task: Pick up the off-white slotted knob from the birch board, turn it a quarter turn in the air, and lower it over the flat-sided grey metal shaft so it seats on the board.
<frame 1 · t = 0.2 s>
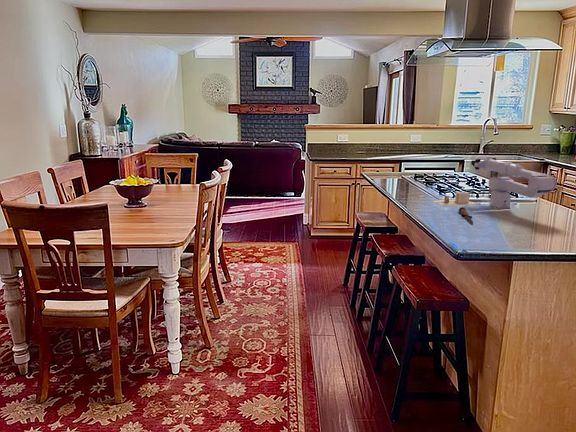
hand: (478, 162, 246), 21 cm above the countertop, tool horizontal, fingers open, 7 cm apart
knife: (467, 219, 208), on the countertop
shaft board: (453, 203, 241), on the countertop
slotted knob: (461, 201, 241), point 1 cm above the countertop, touching shaft board
coffee box: (496, 196, 261), on the countertop
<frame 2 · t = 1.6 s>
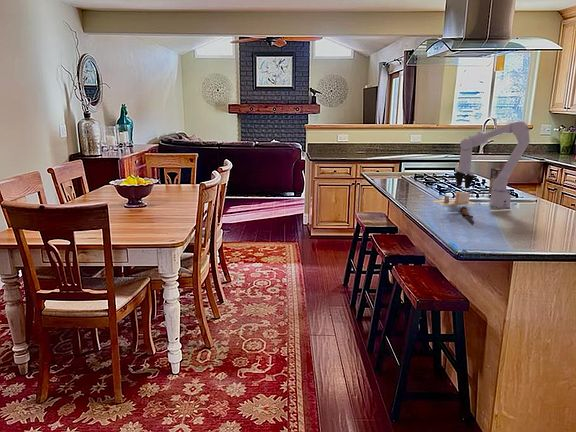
hand: (463, 187, 240), 9 cm above the countertop, tool pointing down, fingers open, 7 cm apart
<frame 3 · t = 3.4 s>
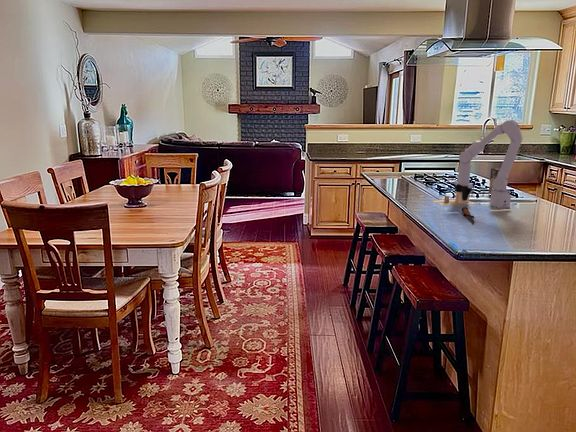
hand: (462, 199, 241), 2 cm above the countertop, tool pointing down, fingers closed on slotted knob, 4 cm apart
slotted knob: (461, 201, 241), point 1 cm above the countertop, touching gripper, shaft board
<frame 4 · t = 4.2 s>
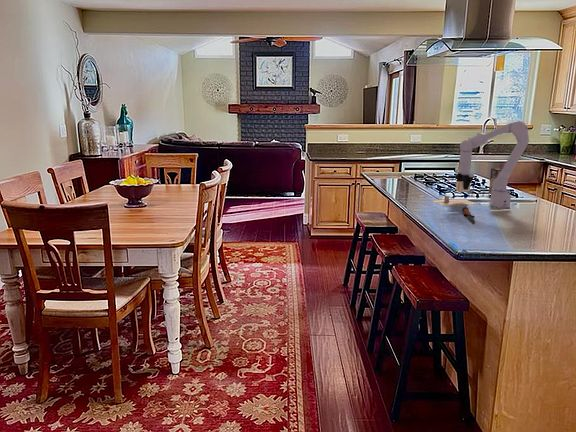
hand: (463, 188, 240), 8 cm above the countertop, tool pointing down, fingers closed on slotted knob, 4 cm apart
slotted knob: (462, 191, 240), point 7 cm above the countertop, touching gripper
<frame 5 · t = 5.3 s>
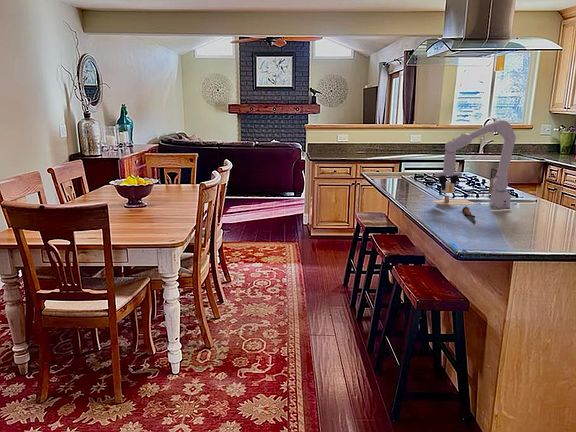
hand: (447, 190, 238), 8 cm above the countertop, tool pointing down, fingers closed on slotted knob, 4 cm apart
slotted knob: (447, 192, 238), point 6 cm above the countertop, touching gripper
when the fingers open (3 cm above the countertop, at t = 6.6 s): slotted knob drops 1 cm, resting on shaft board.
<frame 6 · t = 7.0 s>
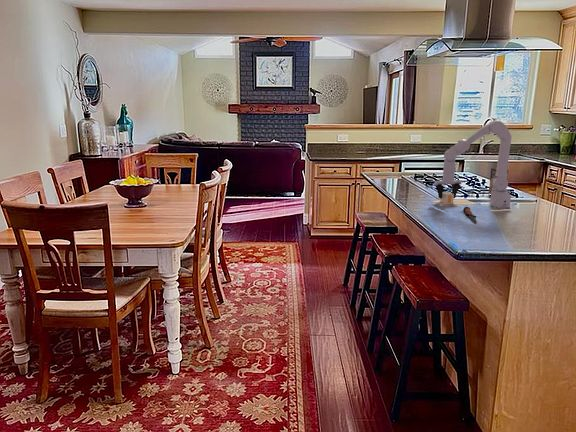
hand: (446, 198, 239), 3 cm above the countertop, tool pointing down, fingers open, 7 cm apart
slotted knob: (446, 202, 240), point 1 cm above the countertop, touching shaft board
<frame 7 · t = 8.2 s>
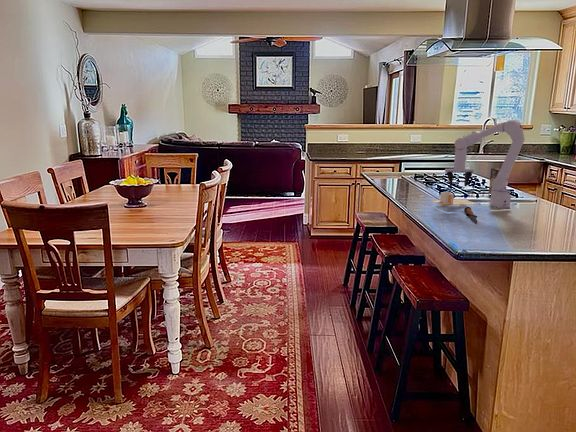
hand: (458, 186, 242), 9 cm above the countertop, tool pointing down, fingers open, 7 cm apart
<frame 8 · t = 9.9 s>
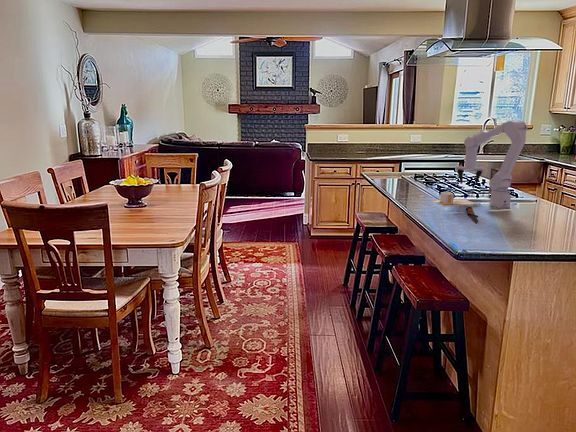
hand: (468, 184, 246), 9 cm above the countertop, tool pointing down, fingers open, 7 cm apart
at the end: slotted knob 0.0 cm from the target spot on the shaft board, point 1.0 cm above the shaft board's base; slotted knob tilted 0°; the gripper is holding nothing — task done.
